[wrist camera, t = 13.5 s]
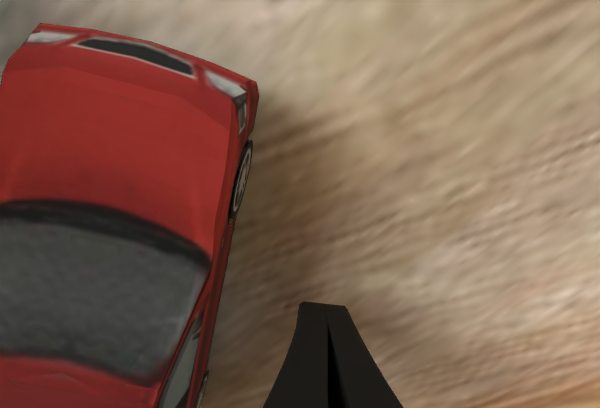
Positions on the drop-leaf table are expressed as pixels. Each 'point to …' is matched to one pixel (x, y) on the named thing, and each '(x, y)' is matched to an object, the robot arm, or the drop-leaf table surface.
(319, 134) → the drop-leaf table surface
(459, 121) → the drop-leaf table surface
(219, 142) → the toy car
